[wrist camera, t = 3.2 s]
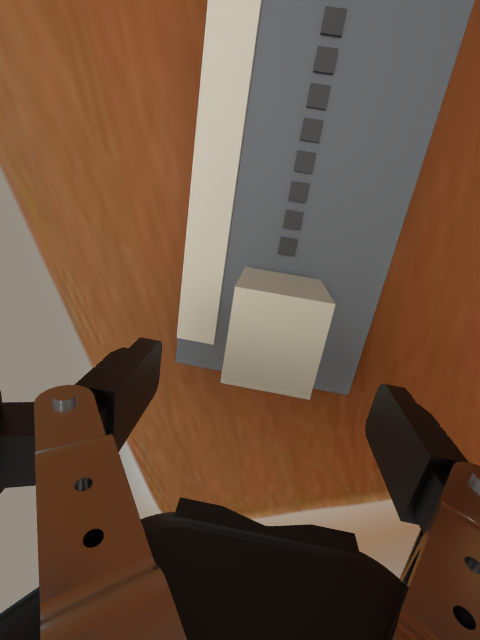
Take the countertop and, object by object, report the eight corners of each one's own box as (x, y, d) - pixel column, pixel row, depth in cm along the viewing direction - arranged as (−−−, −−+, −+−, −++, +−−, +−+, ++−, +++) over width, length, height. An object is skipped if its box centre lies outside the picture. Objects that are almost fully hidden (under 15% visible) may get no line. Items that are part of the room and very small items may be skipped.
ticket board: (482, -64, 15) (518, -110, 13) (343, 383, 23) (350, 401, 21) (226, -96, 15) (218, -145, 13) (181, 352, 24) (171, 367, 21)
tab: (320, 279, 19) (335, 304, 14) (301, 355, 20) (309, 399, 16) (245, 266, 19) (234, 286, 14) (232, 342, 21) (220, 382, 16)
